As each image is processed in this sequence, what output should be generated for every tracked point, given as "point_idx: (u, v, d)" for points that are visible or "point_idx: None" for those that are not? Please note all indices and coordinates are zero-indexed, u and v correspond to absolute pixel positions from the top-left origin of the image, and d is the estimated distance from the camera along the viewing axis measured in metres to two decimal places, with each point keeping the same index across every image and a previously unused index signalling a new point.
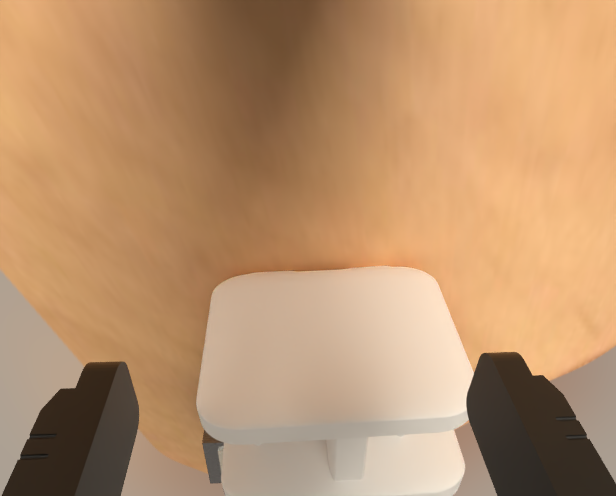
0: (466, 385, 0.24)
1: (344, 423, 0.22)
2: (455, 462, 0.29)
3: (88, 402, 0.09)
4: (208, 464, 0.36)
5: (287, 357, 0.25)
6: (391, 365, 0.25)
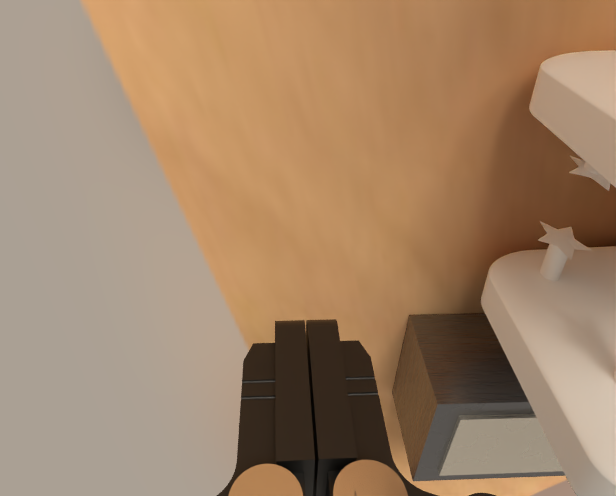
0: None
1: None
2: None
3: (291, 352, 0.10)
4: (427, 446, 0.21)
5: None
6: None
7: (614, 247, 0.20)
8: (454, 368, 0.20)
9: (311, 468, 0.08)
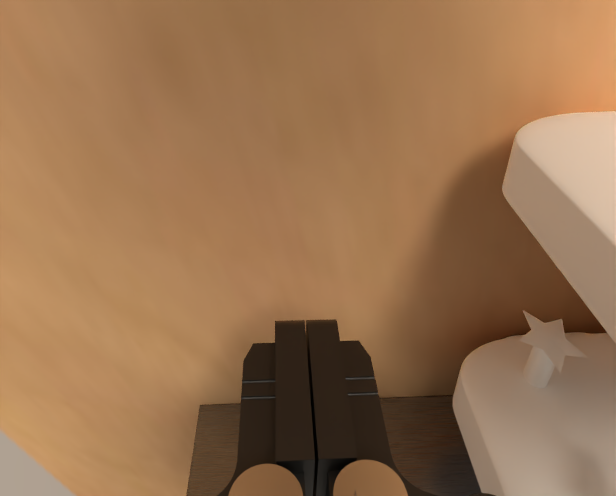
0: None
1: None
2: None
3: (291, 352, 0.10)
4: None
5: None
6: None
7: None
8: (223, 484, 0.16)
9: (311, 468, 0.08)
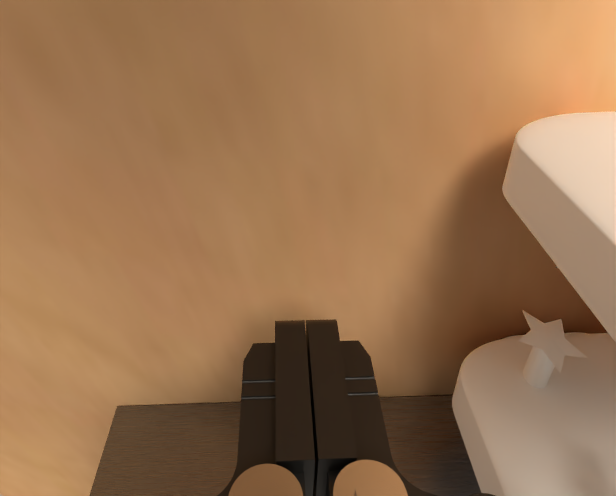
0: None
1: None
2: None
3: (291, 352, 0.10)
4: None
5: None
6: None
7: None
8: (128, 487, 0.16)
9: (311, 468, 0.08)
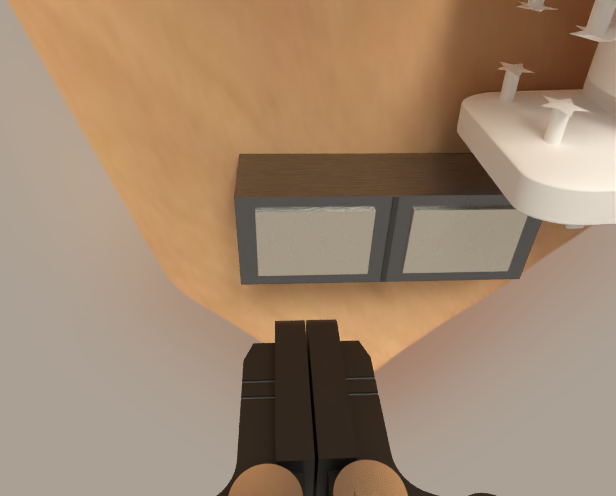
0: None
1: None
2: None
3: (291, 352, 0.10)
4: (240, 243, 0.26)
5: None
6: None
7: (558, 90, 0.27)
8: (258, 180, 0.26)
9: (311, 468, 0.08)
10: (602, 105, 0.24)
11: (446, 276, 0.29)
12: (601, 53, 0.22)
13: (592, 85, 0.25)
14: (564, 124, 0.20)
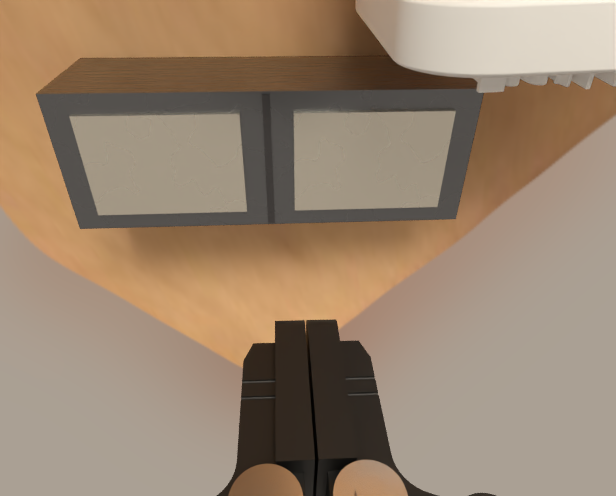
0: None
1: None
2: None
3: (291, 352, 0.10)
4: (63, 167, 0.19)
5: None
6: None
7: None
8: (84, 79, 0.19)
9: (311, 468, 0.08)
10: None
11: (356, 215, 0.22)
12: None
13: None
14: None
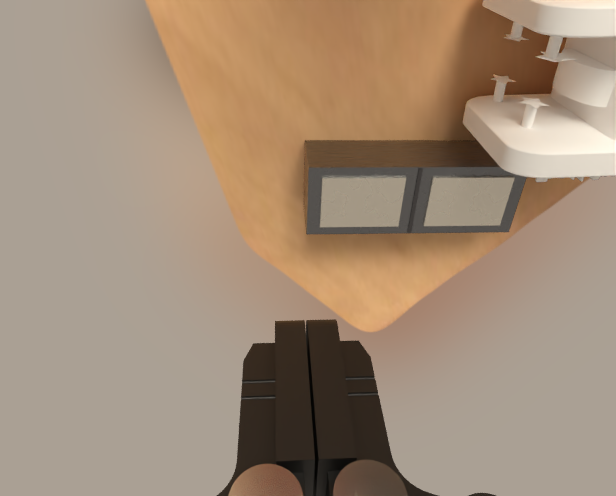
0: None
1: None
2: None
3: (291, 352, 0.10)
4: (309, 202, 0.37)
5: None
6: None
7: (534, 94, 0.38)
8: (322, 157, 0.37)
9: (311, 468, 0.08)
10: (563, 104, 0.35)
11: (455, 229, 0.40)
12: (559, 68, 0.33)
13: (556, 90, 0.36)
14: (534, 114, 0.31)
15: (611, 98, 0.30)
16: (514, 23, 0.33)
